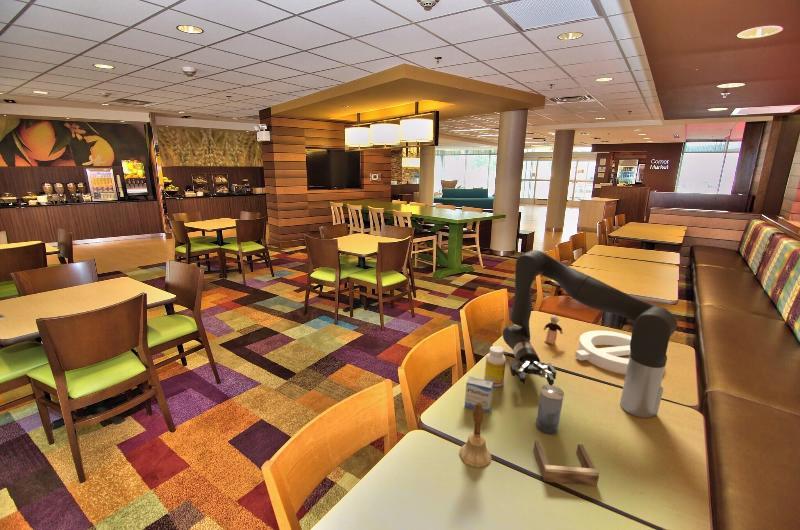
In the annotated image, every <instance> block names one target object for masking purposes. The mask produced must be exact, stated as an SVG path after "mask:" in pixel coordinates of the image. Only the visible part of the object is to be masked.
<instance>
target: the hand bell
mask: <svg viewBox="0 0 800 530" xmlns="http://www.w3.org/2000/svg"><path fill="white" fill-rule="evenodd" d="M472 418H473V422H474V428H473V432H472V433H471V434H469V435H468V437H467V440H466V443H465V444H462V446H461V447H460V449H459V457H460V459H461V461H463V463H465V464H466V465H467V466H470V467H472V468H478V469H479V468H484V467H487V466H489V465H490V464H491V462H492V454H491V451H490V449H489V448H488V447H487V445H486V438H485V436H484V435H482V434H481V433H482V432H481V429H482V428H481V425H482V422H483V421H484V411H483V408H482V404H481V403H479V402H478V403H476V406H475V408H474V409H473V412H472Z"/></svg>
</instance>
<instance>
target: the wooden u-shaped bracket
mask: <svg viewBox="0 0 800 530" xmlns="http://www.w3.org/2000/svg"><path fill="white" fill-rule="evenodd" d="M533 453H534V455H535V459H536V462H537V464H538V468H539V470H540V473H541V477H542V480H543V482H549V483H557V484H559V483H560V484H571V485H581V486H582V485H583V486H595V487H596V486H597V487H598V481H599V477H600V471H599V469H598V468H595V465H594V464H593V461H592V459H591V458H590V456H589V453H588V452H587V450H586V448H585V446H584V444H583V443H580V444H579V443H577V448H576V452H575V453H576V456H577V458H578V460H579V462H580V464H581V465H582V467H578V466H576V467H574V466H563V465H553V464H552V465H551V464H548V461H547V458H546V455H545V453H544V449H543V448H542V444H541V443H540V440H534V441H533Z"/></svg>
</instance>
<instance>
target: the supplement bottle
mask: <svg viewBox="0 0 800 530" xmlns="http://www.w3.org/2000/svg"><path fill="white" fill-rule="evenodd" d="M504 353H505V350H504V348H503V347H502V346H499V345H492V346H490V347H489V353H487V354H486V355H485V356H486V357H485V366H484V367H485V368H484V376H483V377H484V378H483V380H487V381H492V382H494V385H493V387H494V388H495V387H501V386H503V385H504V381H505V372H506V362H507V359H506V356H505V355H504Z"/></svg>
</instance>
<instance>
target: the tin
mask: <svg viewBox="0 0 800 530" xmlns="http://www.w3.org/2000/svg"><path fill="white" fill-rule="evenodd" d="M539 391H540V393H539V401H538V408H537V414H536V422H535V426H536V427H535V428H536V429H537V430H538V431H539V432H540V433H542V434H545V435H549V436H553V435H556V434H557V433H558V431H559V425H560V421H561V413H562V406H563V400H564V397H565V392H564V391H563V390H562V389H561V388H559V387H558V386H556V385H549V384H545V385H542V386H540V390H539Z"/></svg>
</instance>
